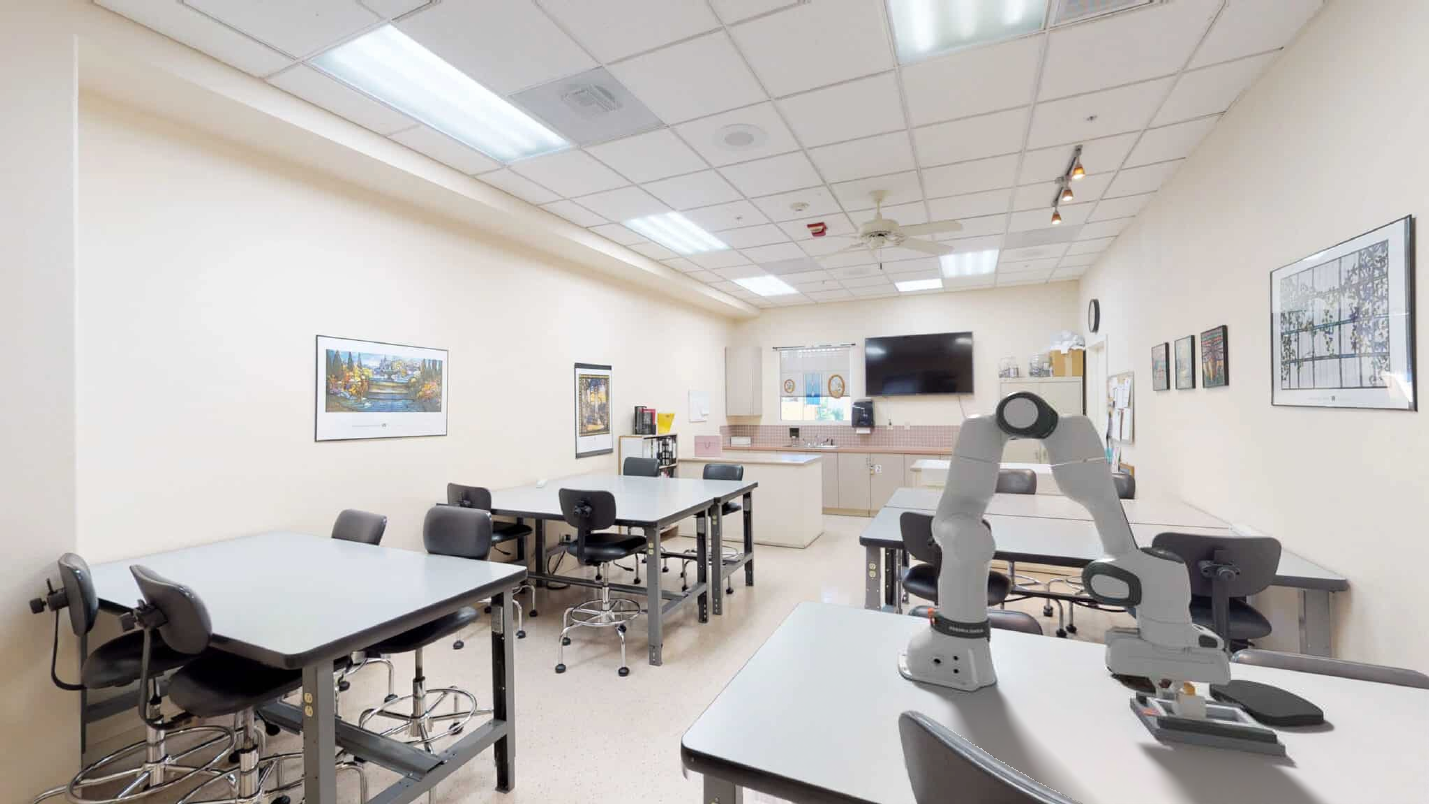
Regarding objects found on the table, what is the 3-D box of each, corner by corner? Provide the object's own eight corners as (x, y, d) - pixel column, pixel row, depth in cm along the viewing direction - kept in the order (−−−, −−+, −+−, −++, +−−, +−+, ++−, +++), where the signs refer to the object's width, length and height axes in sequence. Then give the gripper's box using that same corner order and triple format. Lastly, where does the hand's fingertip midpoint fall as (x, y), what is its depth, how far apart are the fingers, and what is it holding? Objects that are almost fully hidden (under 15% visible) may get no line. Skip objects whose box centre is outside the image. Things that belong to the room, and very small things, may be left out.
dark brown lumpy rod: (1114, 680, 135) (1176, 710, 120) (1098, 671, 134) (1159, 700, 119) (1123, 658, 135) (1186, 685, 121) (1107, 649, 135) (1168, 675, 120)
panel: (1155, 738, 107) (1154, 719, 107) (1130, 707, 119) (1129, 690, 119) (1285, 756, 101) (1284, 736, 101) (1245, 721, 113) (1245, 703, 113)
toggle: (1181, 720, 109) (1180, 686, 110) (1171, 710, 113) (1170, 677, 113) (1206, 723, 108) (1204, 689, 108) (1195, 713, 112) (1194, 680, 112)
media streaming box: (1335, 726, 111) (1335, 711, 111) (1268, 730, 110) (1267, 714, 110) (1259, 690, 126) (1259, 676, 126) (1199, 693, 125) (1199, 679, 125)
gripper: (1109, 631, 112) (1112, 699, 112) (1234, 641, 106) (1237, 714, 106) (1098, 619, 118) (1101, 685, 118) (1215, 629, 112) (1218, 698, 112)
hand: (1166, 699), depth 112 cm, fingers closed
